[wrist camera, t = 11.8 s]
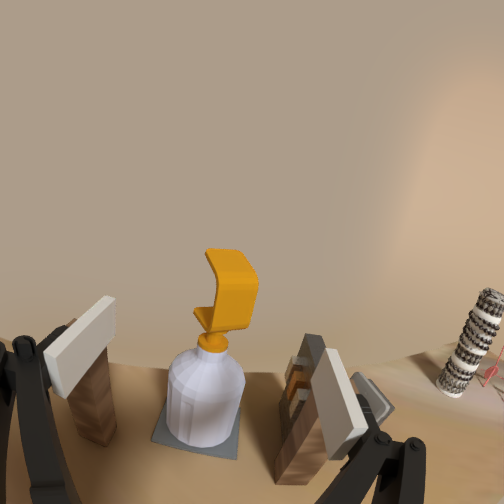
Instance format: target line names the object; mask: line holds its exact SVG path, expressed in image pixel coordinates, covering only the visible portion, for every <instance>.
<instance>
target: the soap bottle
mask: <svg viewBox="0 0 504 504" xmlns="http://www.w3.org/2000/svg"><path fill="white" fill-rule="evenodd" d="M205 256H206V258H207V260H208V262H209V264H210V266H211V268H212V270H213V272H214V274H215V277H216V285H217V286H216V295H215V301H214V306H213V307H196V308H194V312H193V314H194V315H195V316H196V318H197V320H198V321H199V322H200V324H201V325H202V327H203V328H204V330H205V331H206V333H202V334H201V335H199V338H198V342H197V348H194V349H190V350H187V351H184V352H182V353H180V354H179V355H177V357H176V358H175V359H174V361H173V362H172V364H171V365H170V367H169V375H168V393H167V419H166V423H167V426H168V428H169V430H170V432H171V433H172V434H173V435H174V436H175V437H176V438H177V439H178V440H179V441H181V442H183V443H185V444H187V445H189V446H194V447H199V448H205V447H214V446H216V445H218V444H221V443H223V442H224V441H225V440H226V439H227V438H228V437H229V436H230V434H231V430H232V427H233V424H234V421H235V417H236V414H237V410H238V407H239V404H240V400H241V397H242V393H243V390H244V386H245V383H246V382H245V377H244V373H243V369H242V367H241V366H240V365H239V364H238V362H237V361H236V360H234V359H233V358H232V357H230V356H229V355H228V354H227V348H228V340H227V339H226V338H225V337H224V336H223V334H226V333H227V332H228V331H231V330H240V329H246V328H248V326H249V324H250V320H251V316H252V312H253V308H254V304H255V300H256V296H257V292H258V285H259V283H258V277H257V274H256V272H255V270H254V269H253V267H252V266H251V265H250V263H249V262H248V260H247V259H246V257H245V256H244V254H243V253H242V252H240V251H237V250H229V249H213V248H209V249H207V250H206V252H205Z"/></svg>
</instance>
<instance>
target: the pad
mask: <svg viewBox="0 0 504 504" xmlns="http://www.w3.org/2000/svg"><path fill="white" fill-rule="evenodd" d="M166 419H167V399H166V402H165V404H164V407H163V409H162V412H161V415H160V417H159V420H158V423H157V425H156V428H155V431H154V433H153V436H152V439H151V441H152V442H155V443H159V444H162V445H166V446H170V447H173V448H177V449H181V450H186V451H190V452H194V453H199V454H204V455H209V456H214V457H220V458H226V459H233V460H236V459H237V448H238V434H239V421H240V407H238V410H237V414H236V417H235V421H234V424H233V427H232V430H231V434H230V436H229V437H228V438H227V439H226V440H225V441H224V442H223V443H221V444H218V445H216V446H214V447H205V448H199V447H194V446H189V445H187V444H185V443H183V442H181V441H179V440H178V439H177V438H176V437H175V436H174V435H173V434H172V433H171V432H170V430H169V428H168V426H167V423H166Z"/></svg>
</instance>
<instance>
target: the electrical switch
mask: <svg viewBox="0 0 504 504" xmlns="http://www.w3.org/2000/svg"><path fill="white" fill-rule="evenodd" d="M350 379H353V380H354V382H355V385H356V387H357V389H358V391H359V394H362V395H363V396H364V397H365V398H366V399H367V401H368V403H369V405H370V408H371V410H372V413H373V415H374V417H375V419H376V422H377V424H378V426H380V425H381V424H382V423H383V422H384V420H385V419H386V418H387V417H388V416H389V415H390V414H391V413H392V412H393V411H394V409H395V407H394V406H393V405H392V404H391V403H390V402H389V400H388V399H387V398H386V397H385V396H384V394H383V393H382V392H381V391H380V390H379V388H378V387H377V386H376V385H375V384H374V383H373V381H372V380H371V379H367V378H366V377H365V376H364V374H363V373H362V372H355V373H354V374H353V376H352V377H351V378H350Z"/></svg>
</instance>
